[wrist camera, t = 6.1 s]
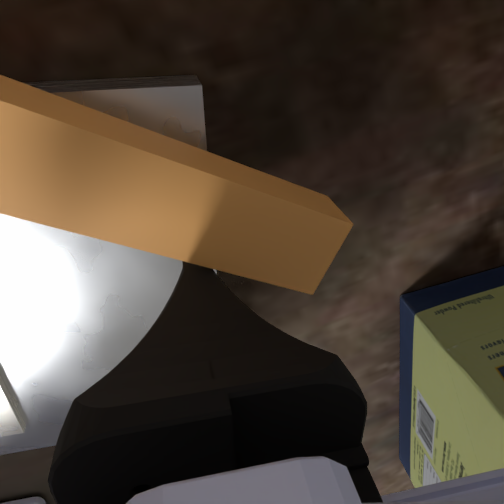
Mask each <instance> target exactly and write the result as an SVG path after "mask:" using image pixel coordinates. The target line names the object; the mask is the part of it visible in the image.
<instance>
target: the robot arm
mask: <svg viewBox="0 0 504 504" xmlns="http://www.w3.org/2000/svg"><path fill="white" fill-rule="evenodd" d="M182 263H183V268H182V271H181V274H180V276H179V279H178V281H177V284H176V286H175V288H174V290H173V292H172V294H171V296H170V298H169V300H168V302H167V303H166V305H165V307H164V309H163V310H162V312H161V314H160V315H159V317H158V318H157V320H156V321H155V323H154V324H153V325H152V327H151V328H150V329H149V331H148V332H147V333H146V335H145V336H144V337H143V338H142V339H141V341H140V342H139V343H138V344H137V345H136V346H135V348H134V349H133V350H132V351H131V352H130V353H129V354H128V355H127V356H126V357H125V358H124V359H123V360H122V361H121V362H120V363H119V364H118V365H117V366H116V367H114V368H113V369H112V370H111V371H110V372H109V373H108V374H106V375H105V376H104V377H103V378H102V379H100V380H99V381H98V382H96V383H95V384H94V385H92V386H91V387H90V388H88V389H87V390H86V391H85V392H83V393H82V394H81V395H79V396H78V397H76V398H75V399H74V400H73V402H72V405H71V407H70V409H69V411H68V414H67V416H66V418H65V421H64V424H63V426H62V428H61V431H60V434H59V437H58V440H57V443H56V447H55V452H54V456H53V460H52V465H51V469H50V473H49V478H48V483H49V487H50V491H51V493H52V495H53V497H54V499H55V501H56V503H57V504H504V468H502V469H497V470H493V471H488V472H484V473H480V474H475V475H471V476H466V477H462V478H457V479H453V480H449V481H444V482H440V483H435V484H431V485H427V486H422V487H418V488H413V489H409V490H405V491H400V492H396V493H391V494H387V495H383V496H380V494H379V492H378V489H377V487H376V485H375V483H374V481H373V479H372V476H371V474H370V472H369V470H368V468H367V466H368V465H369V459H368V456H367V454H366V452H365V450H364V448H363V445H362V443H361V442H362V437H363V432H364V426H365V421H366V416H367V402H366V400H365V398H364V395H363V393H362V391H361V389H360V387H359V385H358V384H357V382H356V380H355V379H354V377H353V376H352V375H351V373H350V372H349V370H348V369H347V368H346V366H345V365H344V364H343V362H342V361H341V359H340V358H339V357H338V356H337V355H336V354H333V353H330V352H328V351H325V350H322V349H320V348H317V347H314V346H312V345H309V344H307V343H305V342H302V341H300V340H298V339H296V338H294V337H292V336H290V335H288V334H286V333H284V332H283V331H281V330H279V329H278V328H276V327H274V326H273V325H271V324H269V323H268V322H266V321H265V320H263V319H262V318H261V317H259V316H258V315H257V314H255V313H254V312H253V311H252V310H250V309H249V308H248V307H247V306H246V305H245V304H243V303H242V302H241V301H240V300H239V299H238V298H237V297H236V296H235V295H234V294H233V293H232V292H231V291H230V290H229V289H228V287H227V286H226V285H225V284H224V283H223V282H222V280H221V279H220V278H219V277H218V276H217V274H216V273H215V272H214V270H213V269H211V268H207V267H203V266H200V265H196V264H192V263H188V262H184V261H182ZM0 504H46V502H45V500H44V499H43V498H41V497H30V498H25V499H20V500H14V501H9V502H4V503H0Z"/></svg>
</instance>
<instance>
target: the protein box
mask: <svg viewBox="0 0 504 504" xmlns="http://www.w3.org/2000/svg"><path fill="white" fill-rule="evenodd" d="M399 459H400V460H401V462H402V464H403V466H404V468H405V470H406V472H407V474H408V475H409V477H410V479H411V481H412V483H413V485H414V487H415V488H418V487H422V486H427V485H431V484H435V483H440V482H444V481H449V480H453V479H457V478H462V477H466V476H471V475H475V474H480V473H484V472H488V471H493V470H497V469H502V468H504V266H502V267H499V268H496V269H491V270H488V271H485V272H481V273H478V274H474V275H471V276H467V277H463V278H460V279H457V280H453V281H450V282H447V283H443V284H440V285H436V286H432V287H429V288H425V289H422V290H418V291H415V292H411V293H407V294H403V295H401V296H400V404H399Z"/></svg>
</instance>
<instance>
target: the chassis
mask: <svg viewBox="0 0 504 504" xmlns="http://www.w3.org/2000/svg"><path fill="white" fill-rule="evenodd" d="M23 83H24V84H27V85H30V86H32V87H35V88H38V89H41V90H43V91H46V92H49V93H51V94H54V95H57V96H59V97H62V98H65V99H67V100H70V101H73V102H76V103H78V104H81V105H84V106H86V107H89V108H92V109H94V110H97V111H100V112H102V113H105V114H108V115H111V116H113V117H116V118H119V119H121V120H124V121H127V122H129V123H132V124H135V125H137V126H140V127H143V128H146V129H148V130H151V131H154V132H156V133H159V134H162V135H164V136H167V137H170V138H173V139H175V140H178V141H181V142H183V143H186V144H189V145H191V146H194V147H197V148H199V149H202V150H205V151H207V143H206V130H205V118H204V105H203V93H202V84H201V83H200V81H199V79H198V78H197V76H196V75H177V76H155V77H133V78H111V79H89V80H67V81H45V82H23ZM182 268H183V263H182V261H180V260H177V259H173V258H169V257H165V256H161V255H157V254H154V253H150V252H146V251H142V250H138V249H134V248H131V247H127V246H123V245H119V244H115V243H112V242H108V241H104V240H100V239H96V238H92V237H89V236H85V235H81V234H77V233H73V232H69V231H66V230H62V229H58V228H54V227H50V226H46V225H43V224H39V223H35V222H31V221H27V220H23V219H20V218H16V217H12V216H8V215H4V214H0V455H4V454H10V453H16V452H21V451H27V450H33V449H38V448H44V447H50V446H55V445H56V443H57V440H58V437H59V434H60V431H61V428H62V426H63V424H64V421H65V418H66V416H67V414H68V411H69V409H70V407H71V405H72V402H73V400H74V399H75V398H76V397H78V396H79V395H81V394H82V393H83V392H85V391H86V390H87V389H88V388H90V387H91V386H92V385H94V384H95V383H96V382H98V381H99V380H100V379H102V378H103V377H104V376H105V375H106V374H108V373H109V372H110V371H111V370H112V369H113V368H114V367H116V366H117V365H118V364H119V363H120V362H121V361H122V360H123V359H124V358H125V357H126V356H127V355H128V354H129V353H130V352H131V351H132V350H133V349H134V348H135V346H136V345H137V344H138V343H139V342H140V341H141V339H142V338H143V337H144V336H145V335H146V333H147V332H148V331H149V329H150V328H151V327H152V325H153V324H154V323H155V321H156V320H157V318H158V317H159V315H160V314H161V312H162V310H163V309H164V307H165V305H166V303H167V302H168V300H169V298H170V296H171V294H172V292H173V290H174V288H175V286H176V284H177V281H178V279H179V276H180V274H181V271H182ZM213 270H214V272H215V273H216V274H217V270H215V269H213Z"/></svg>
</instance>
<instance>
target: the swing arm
mask: <svg viewBox="0 0 504 504" xmlns="http://www.w3.org/2000/svg"><path fill="white" fill-rule="evenodd" d="M0 214H4V215H8V216H12V217H16V218H20V219H23V220H27V221H31V222H35V223H39V224H43V225H46V226H50V227H54V228H58V229H62V230H66V231H69V232H73V233H77V234H81V235H85V236H89V237H92V238H96V239H100V240H104V241H108V242H112V243H115V244H119V245H123V246H127V247H131V248H134V249H138V250H142V251H146V252H150V253H154V254H157V255H161V256H165V257H169V258H173V259H177V260H180V261H184V262H188V263H192V264H196V265H200V266H203V267H207V268H211V269H215V270H219V271H223V272H226V273H230V274H234V275H238V276H242V277H246V278H249V279H253V280H257V281H261V282H265V283H269V284H272V285H276V286H280V287H284V288H288V289H292V290H295V291H299V292H303V293H307V294H311V295H313V294H314V292H315V290H316V288H317V287H318V285H319V283H320V281H321V280H322V278H323V276H324V275H325V273H326V271H327V269H328V268H329V266H330V264H331V263H332V261H333V259H334V257H335V256H336V254H337V252H338V250H339V249H340V247H341V245H342V244H343V242H344V240H345V238H346V237H347V235H348V233H349V232H350V230H351V228H352V226H353V225H354V224H353V223H352V222H351V221H350V220H349V219H348V218H347V217H346V215H345V214H344V213H343V212H342V211H341V210H340V209H339V208H338V207H337V206H336V205H335V204H334V203H333V201H332V200H331V199H330V198H329V197H328V196H326V195H323V194H321V193H318V192H315V191H313V190H310V189H307V188H305V187H302V186H299V185H296V184H294V183H291V182H288V181H286V180H283V179H280V178H278V177H275V176H272V175H269V174H267V173H264V172H261V171H259V170H256V169H253V168H251V167H248V166H245V165H243V164H240V163H237V162H234V161H232V160H229V159H226V158H224V157H221V156H218V155H216V154H213V153H210V152H208V151H205V150H202V149H199V148H197V147H194V146H191V145H189V144H186V143H183V142H181V141H178V140H175V139H173V138H170V137H167V136H164V135H162V134H159V133H156V132H154V131H151V130H148V129H146V128H143V127H140V126H137V125H135V124H132V123H129V122H127V121H124V120H121V119H119V118H116V117H113V116H111V115H108V114H105V113H102V112H100V111H97V110H94V109H92V108H89V107H86V106H84V105H81V104H78V103H76V102H73V101H70V100H67V99H65V98H62V97H59V96H57V95H54V94H51V93H49V92H46V91H43V90H41V89H38V88H35V87H32V86H30V85H27V84H24V83H22V82H19V81H16V80H14V79H11V78H8V77H5V76H3V75H0Z"/></svg>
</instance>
